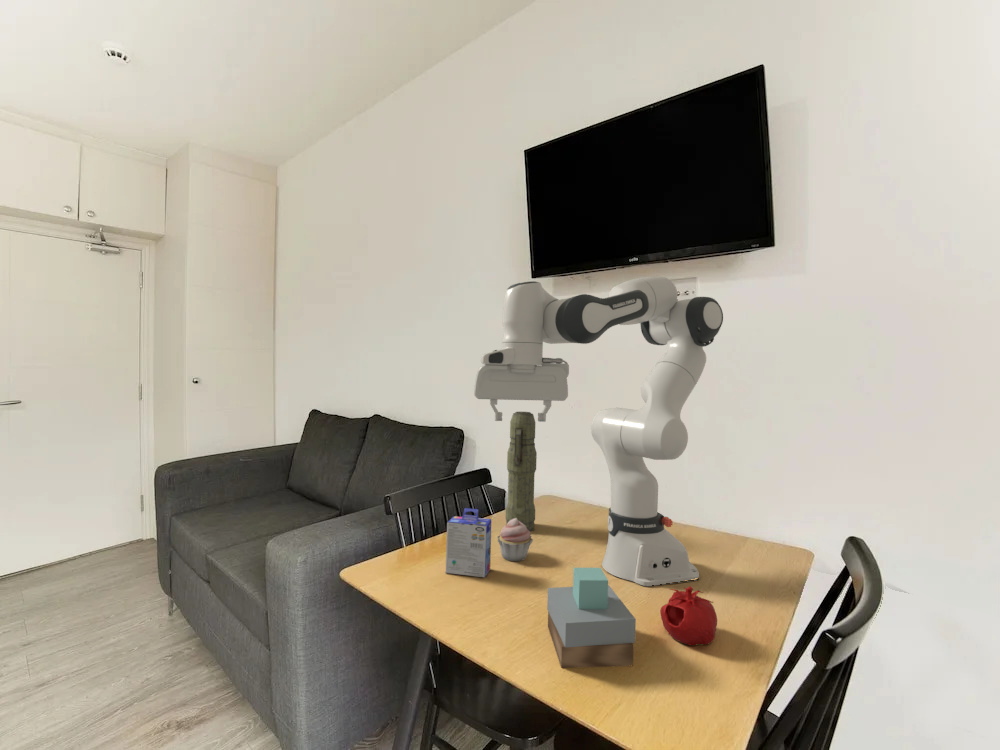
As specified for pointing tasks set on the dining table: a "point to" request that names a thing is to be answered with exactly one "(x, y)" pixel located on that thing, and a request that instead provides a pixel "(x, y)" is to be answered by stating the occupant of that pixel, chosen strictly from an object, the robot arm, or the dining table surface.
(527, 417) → the thermos
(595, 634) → the tower top slab
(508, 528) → the cupcake
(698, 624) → the pomegranate
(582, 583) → the teal cube
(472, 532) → the ink cartridge box
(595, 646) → the tower bottom slab
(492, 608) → the dining table surface
